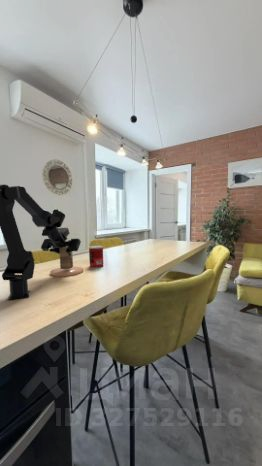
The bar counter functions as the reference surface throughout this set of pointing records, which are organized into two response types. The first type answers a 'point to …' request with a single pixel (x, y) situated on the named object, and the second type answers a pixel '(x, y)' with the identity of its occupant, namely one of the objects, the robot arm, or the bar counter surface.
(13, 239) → the robot arm
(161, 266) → the bar counter surface
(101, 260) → the canned food
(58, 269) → the terracotta dish
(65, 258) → the walnut block
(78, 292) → the bar counter surface
